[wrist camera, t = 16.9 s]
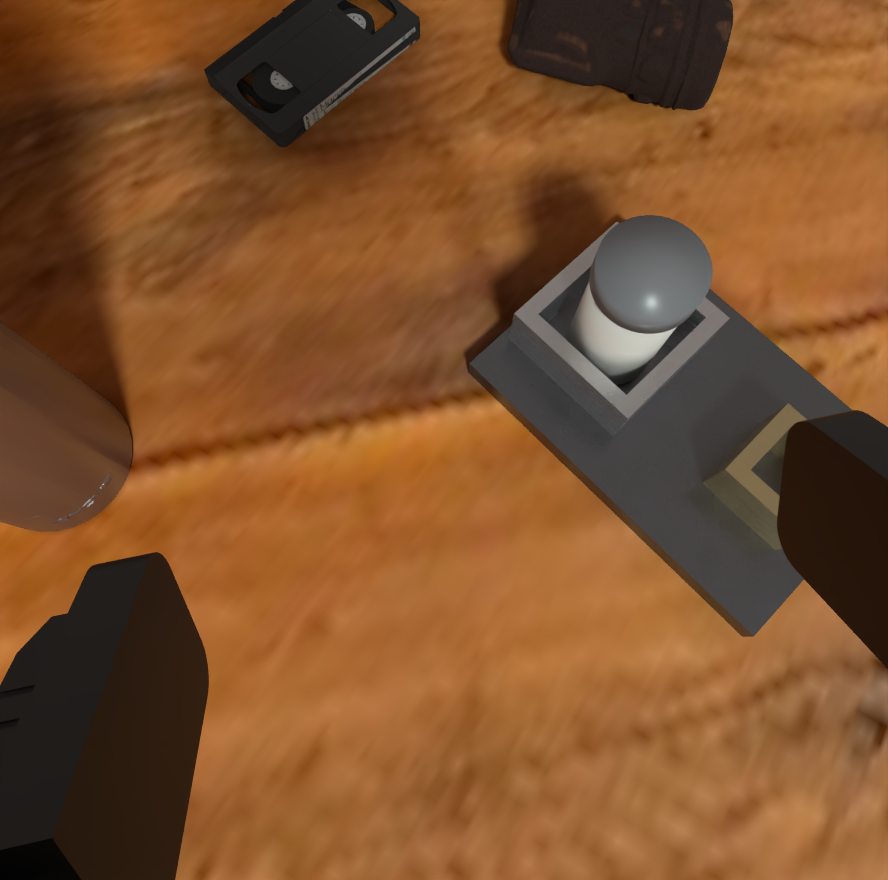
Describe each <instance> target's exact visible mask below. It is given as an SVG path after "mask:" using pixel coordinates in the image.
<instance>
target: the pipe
mask: <svg viewBox="0 0 888 880" xmlns="http://www.w3.org/2000/svg"><path fill="white" fill-rule="evenodd" d="M732 25H733V7H732V3H731V1H730V0H518V2H517V9H516V14H515V19H514V23H513V28H512V33H511V36H510V39H509V43H508V52H509V54H510V57H511V59H512V60H513V62H514V63H515V64H516V66H517V67H519V68H522V69H526V70H529V71H533V72H537V73H541V74H545V75H549V76H552V77H556V78H560V79H564V80H567V81H571V82H574V83H577V84H580V85H583V86H595V85H598V84H603V85H607V86H610V87H613V88H615V89H618V90H620V91H623V92H624V93H625V94H633V96H634V99H635V100H636V102H639V103H645V104H649V103H652V102H657V103H658V104H659V105H660V107H665V106H669V107H672V109H673V110H675V109H677V108H683V109H687V110H697V109H700V108H702V107H704V105H705V104H706V102H707V101H708V99H709V98H710V95H711V93H712V91H713V88H714V86H715V84H716V81H717V78H718V75H719V72H720V69H721V66H722V63H723V60H724V57H725V54H726V51H727V46H728V42H729V38H730V34H731V29H732Z"/></svg>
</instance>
